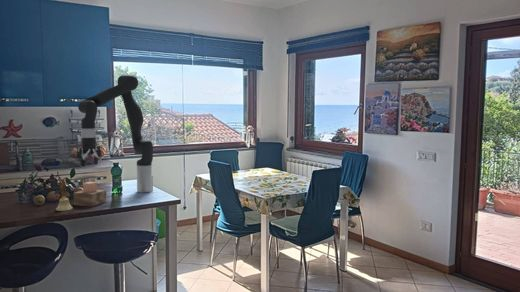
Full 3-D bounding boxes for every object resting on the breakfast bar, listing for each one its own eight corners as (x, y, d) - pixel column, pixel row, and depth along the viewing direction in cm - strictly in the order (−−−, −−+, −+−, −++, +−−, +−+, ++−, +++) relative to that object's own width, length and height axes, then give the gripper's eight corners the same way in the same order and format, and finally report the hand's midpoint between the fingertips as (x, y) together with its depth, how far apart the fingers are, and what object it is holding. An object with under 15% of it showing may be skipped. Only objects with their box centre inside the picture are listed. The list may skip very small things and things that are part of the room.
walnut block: (89, 200, 242) (88, 188, 241) (106, 202, 238) (105, 190, 238) (73, 205, 231) (73, 192, 230) (91, 207, 227) (91, 194, 226)
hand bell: (54, 211, 216) (53, 181, 214) (57, 207, 224) (56, 178, 222) (71, 210, 218) (70, 180, 216) (74, 206, 226) (73, 177, 224)
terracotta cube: (90, 190, 237) (90, 181, 237) (96, 191, 235) (96, 182, 234) (83, 191, 233) (83, 182, 233) (89, 192, 231) (89, 183, 230)
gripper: (94, 135, 239) (95, 163, 241) (73, 137, 226) (73, 166, 228) (103, 136, 235) (104, 164, 237) (82, 137, 223) (83, 167, 225)
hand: (89, 165), depth 233 cm, fingers open, 8 cm apart
